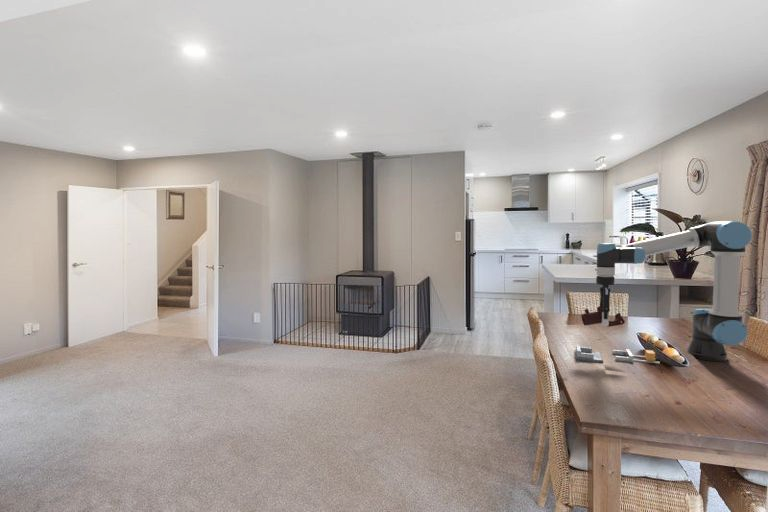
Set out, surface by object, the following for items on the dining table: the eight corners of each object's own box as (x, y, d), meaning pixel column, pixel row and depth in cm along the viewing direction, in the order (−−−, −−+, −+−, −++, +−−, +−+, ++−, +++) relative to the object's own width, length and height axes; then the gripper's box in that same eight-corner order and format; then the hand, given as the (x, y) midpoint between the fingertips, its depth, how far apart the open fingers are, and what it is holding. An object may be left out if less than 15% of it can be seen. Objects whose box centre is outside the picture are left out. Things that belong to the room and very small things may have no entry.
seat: (654, 359, 192) (654, 350, 192) (661, 368, 181) (661, 359, 180) (574, 352, 205) (574, 343, 205) (576, 360, 193) (576, 351, 193)
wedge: (652, 358, 189) (652, 350, 189) (655, 362, 185) (655, 353, 184) (644, 358, 190) (645, 349, 190) (647, 361, 186) (647, 353, 186)
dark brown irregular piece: (626, 323, 188) (620, 302, 191) (587, 329, 191) (581, 308, 194) (623, 324, 193) (616, 304, 196) (585, 330, 197) (579, 310, 200)
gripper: (594, 273, 203) (593, 318, 205) (598, 278, 184) (597, 328, 185) (611, 273, 200) (610, 319, 202) (617, 279, 181) (616, 329, 183)
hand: (604, 323), depth 194 cm, fingers closed on dark brown irregular piece, 8 cm apart
